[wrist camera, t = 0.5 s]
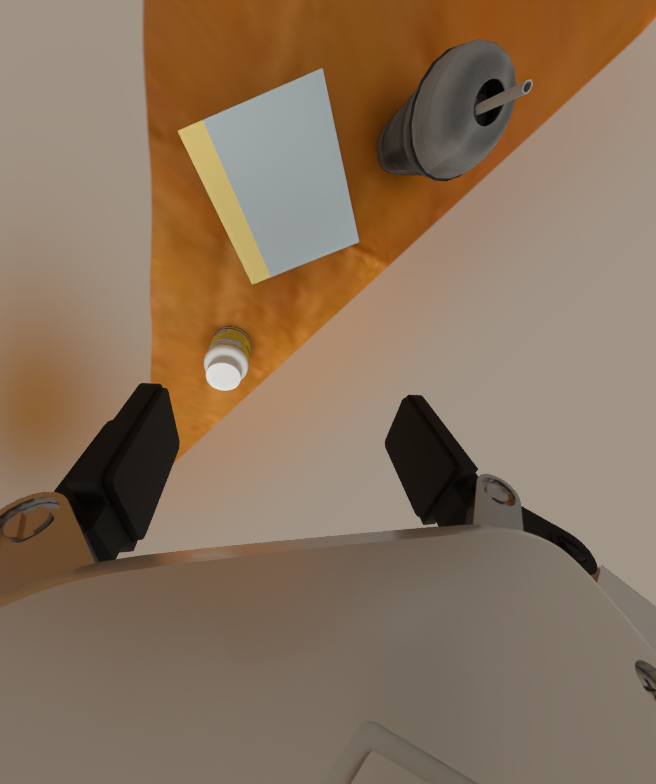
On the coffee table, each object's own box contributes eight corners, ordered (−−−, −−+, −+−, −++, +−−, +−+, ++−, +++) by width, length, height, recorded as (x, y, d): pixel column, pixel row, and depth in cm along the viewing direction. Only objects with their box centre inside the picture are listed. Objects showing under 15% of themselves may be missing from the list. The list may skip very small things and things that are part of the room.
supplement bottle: (245, 363, 41) (239, 400, 33) (209, 352, 39) (193, 388, 31) (256, 333, 38) (252, 366, 30) (218, 319, 36) (203, 351, 28)
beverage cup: (432, 170, 30) (608, 128, 14) (376, 201, 31) (484, 194, 15) (420, 83, 26) (652, -111, 10) (355, 122, 27) (476, -1, 11)
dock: (317, 81, 25) (322, 68, 22) (353, 239, 33) (359, 242, 31) (186, 138, 25) (177, 131, 23) (253, 279, 34) (252, 284, 31)
